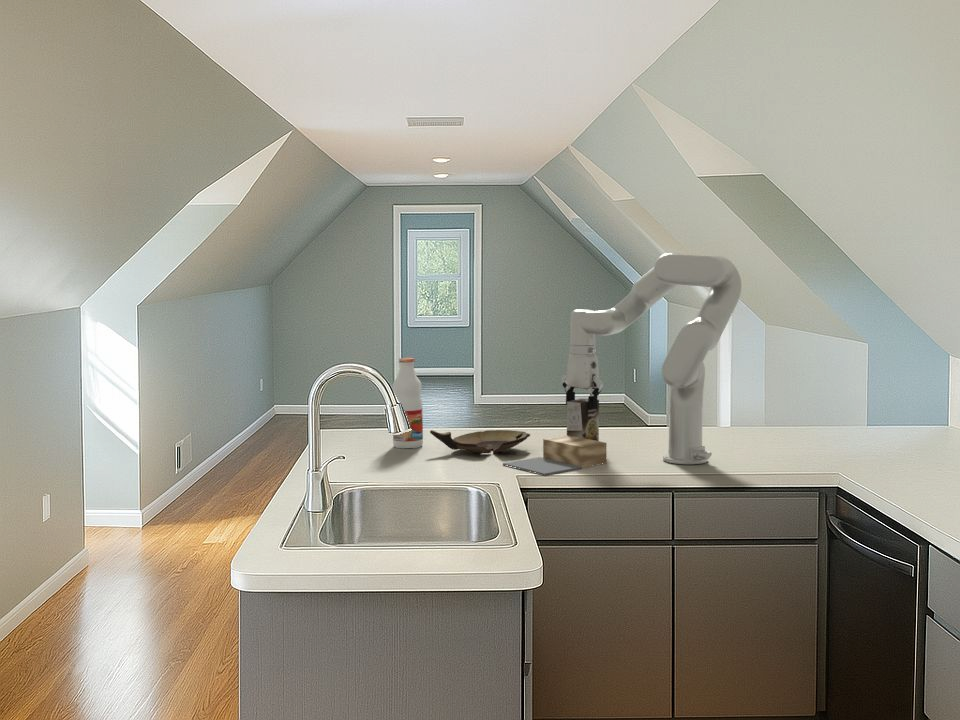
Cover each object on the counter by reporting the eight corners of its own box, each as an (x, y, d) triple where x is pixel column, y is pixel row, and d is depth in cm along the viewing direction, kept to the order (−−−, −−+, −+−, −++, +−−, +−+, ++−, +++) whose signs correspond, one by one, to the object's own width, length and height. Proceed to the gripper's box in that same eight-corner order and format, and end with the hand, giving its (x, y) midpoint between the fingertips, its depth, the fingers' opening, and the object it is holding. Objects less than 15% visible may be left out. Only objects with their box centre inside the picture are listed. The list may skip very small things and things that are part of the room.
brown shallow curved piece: (529, 459, 291) (529, 433, 290) (428, 458, 293) (427, 432, 293) (530, 445, 313) (530, 421, 313) (437, 444, 316) (436, 420, 315)
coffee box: (584, 456, 294) (584, 402, 292) (565, 453, 298) (565, 400, 296) (599, 451, 301) (599, 399, 300) (581, 449, 305) (581, 397, 303)
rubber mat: (582, 468, 276) (582, 466, 276) (544, 475, 268) (544, 473, 267) (539, 459, 290) (539, 457, 290) (502, 465, 282) (502, 463, 282)
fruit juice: (397, 443, 317) (395, 356, 315) (425, 444, 316) (424, 357, 313) (389, 449, 308) (388, 359, 305) (419, 449, 307) (418, 360, 304)
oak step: (606, 463, 283) (606, 442, 283) (581, 467, 277) (581, 446, 277) (568, 455, 296) (568, 435, 295) (543, 459, 290) (543, 439, 289)
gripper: (612, 352, 292) (610, 409, 294) (572, 347, 306) (570, 402, 307) (593, 353, 287) (592, 411, 289) (554, 348, 301) (552, 404, 303)
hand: (581, 406), depth 298 cm, fingers open, 9 cm apart
